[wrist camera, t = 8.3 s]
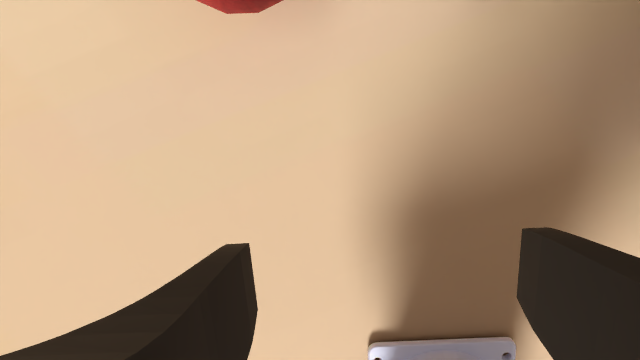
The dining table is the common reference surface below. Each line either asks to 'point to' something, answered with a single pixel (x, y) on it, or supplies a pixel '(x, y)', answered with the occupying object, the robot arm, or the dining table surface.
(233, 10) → the onion
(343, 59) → the dining table surface
